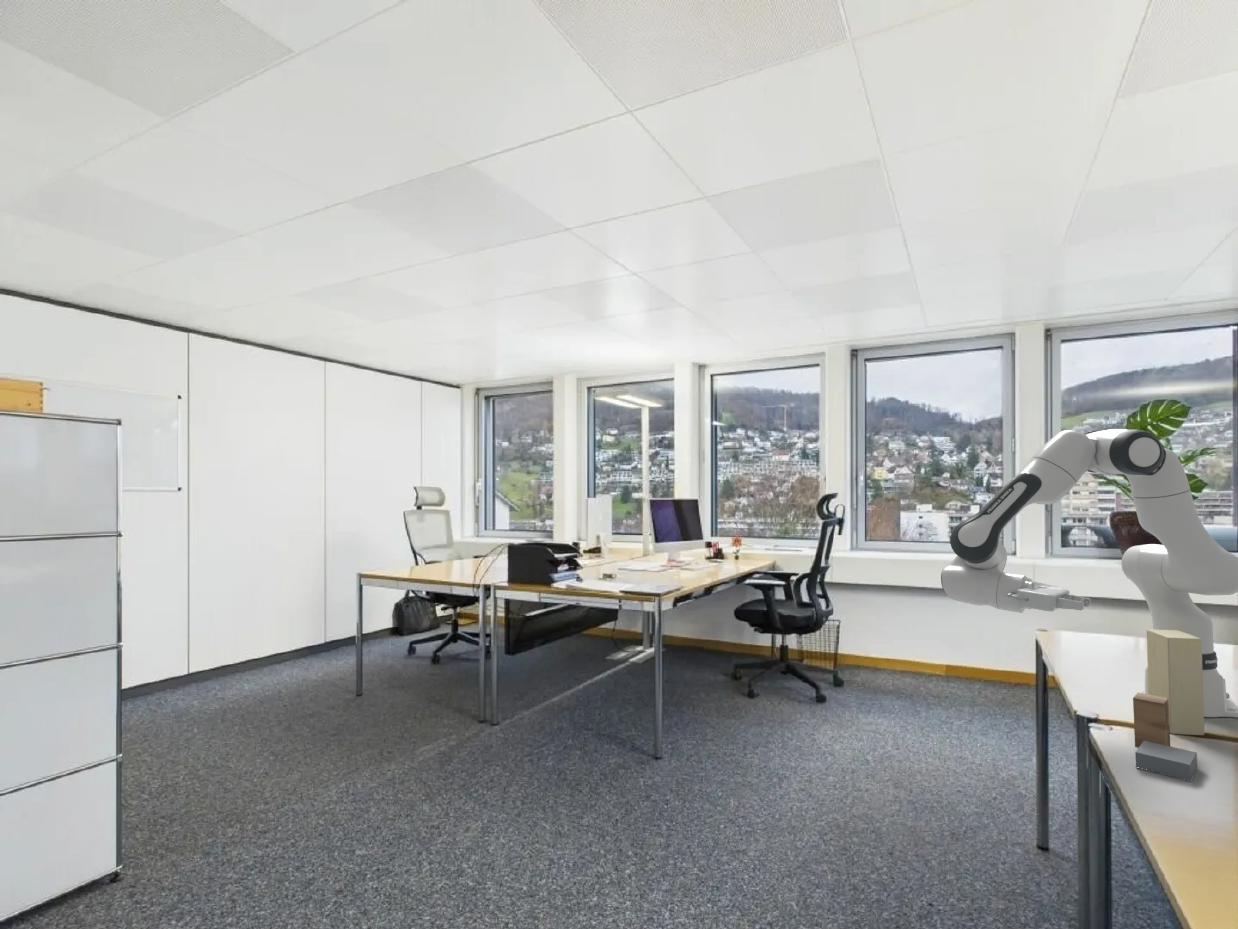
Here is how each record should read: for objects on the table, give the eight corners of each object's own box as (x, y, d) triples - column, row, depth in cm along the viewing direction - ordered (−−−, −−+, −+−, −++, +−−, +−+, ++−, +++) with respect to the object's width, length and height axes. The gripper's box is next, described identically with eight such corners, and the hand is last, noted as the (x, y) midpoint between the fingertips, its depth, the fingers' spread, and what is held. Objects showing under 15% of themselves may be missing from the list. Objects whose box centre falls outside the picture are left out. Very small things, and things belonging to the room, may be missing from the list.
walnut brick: (1140, 739, 139) (1138, 692, 139) (1170, 746, 135) (1168, 698, 135) (1135, 746, 135) (1133, 697, 136) (1166, 753, 132) (1163, 703, 132)
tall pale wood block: (1210, 736, 140) (1205, 638, 140) (1170, 734, 141) (1166, 637, 142) (1185, 722, 147) (1181, 630, 148) (1148, 721, 149) (1144, 629, 150)
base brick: (1144, 755, 131) (1143, 740, 131) (1197, 768, 125) (1196, 752, 125) (1135, 767, 125) (1135, 752, 125) (1190, 781, 119) (1190, 765, 119)
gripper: (1005, 582, 146) (1080, 593, 136) (1026, 577, 160) (1094, 587, 151) (1003, 610, 145) (1078, 623, 136) (1024, 603, 160) (1092, 614, 151)
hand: (1087, 604), depth 144 cm, fingers open, 8 cm apart
